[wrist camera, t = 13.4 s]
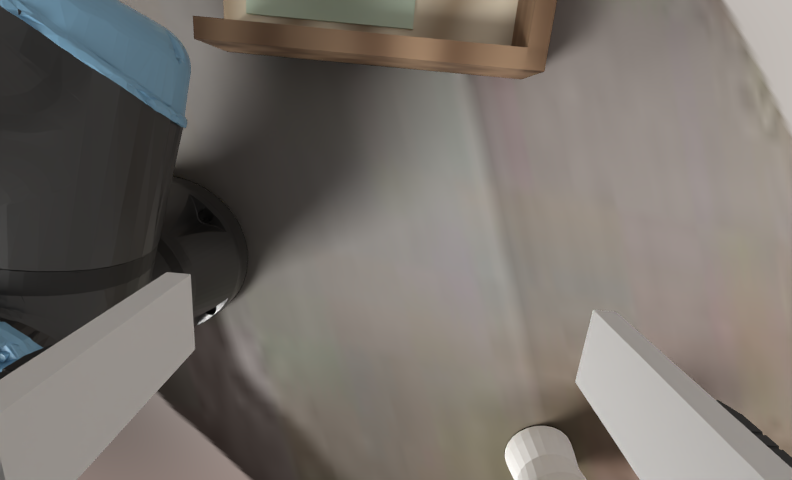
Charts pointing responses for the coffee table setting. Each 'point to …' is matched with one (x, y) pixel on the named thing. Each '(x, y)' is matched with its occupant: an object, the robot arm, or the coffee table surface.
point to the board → (421, 20)
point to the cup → (542, 455)
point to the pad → (340, 11)
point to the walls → (393, 44)
